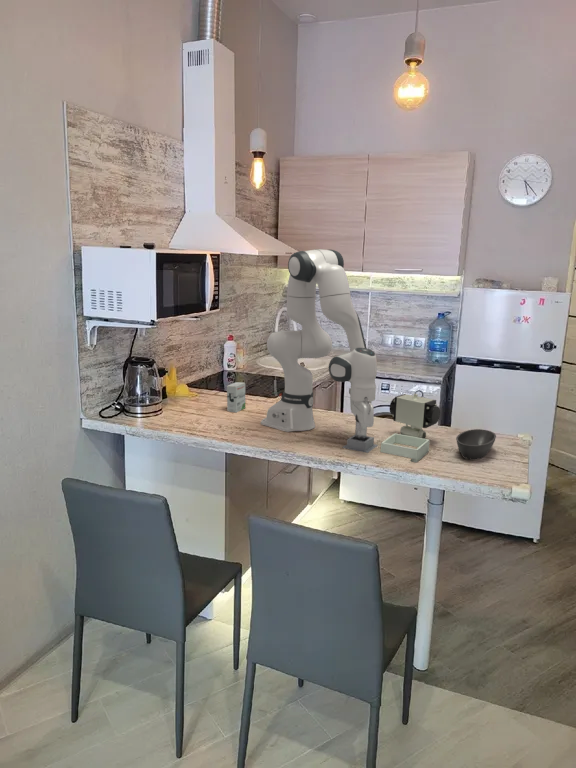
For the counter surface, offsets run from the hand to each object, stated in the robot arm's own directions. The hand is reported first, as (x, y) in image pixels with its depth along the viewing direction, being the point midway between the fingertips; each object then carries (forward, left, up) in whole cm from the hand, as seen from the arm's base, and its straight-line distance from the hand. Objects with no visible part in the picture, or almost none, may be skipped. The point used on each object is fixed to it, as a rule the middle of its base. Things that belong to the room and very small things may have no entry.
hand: (360, 431), depth 208 cm
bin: (+15, +5, -7) cm, 17 cm away
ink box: (-68, +18, -7) cm, 71 cm away
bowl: (+36, +19, -7) cm, 41 cm away
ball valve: (+12, +23, -7) cm, 27 cm away
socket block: (0, 0, -7) cm, 7 cm away
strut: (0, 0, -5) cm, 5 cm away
